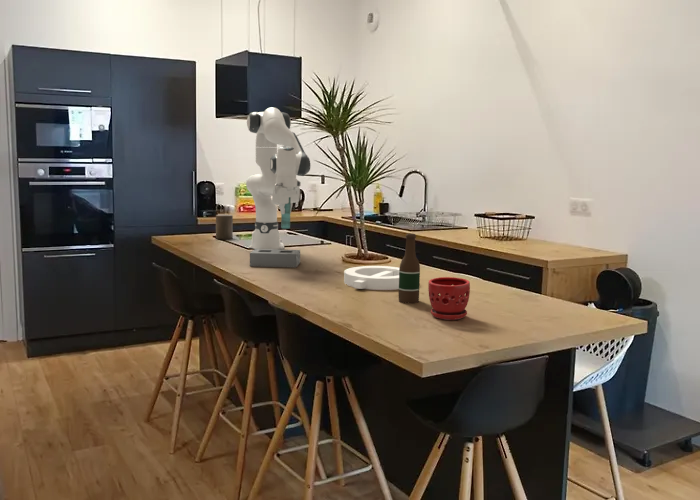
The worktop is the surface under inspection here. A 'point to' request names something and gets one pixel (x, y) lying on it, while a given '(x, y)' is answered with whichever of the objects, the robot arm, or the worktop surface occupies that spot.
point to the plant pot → (449, 297)
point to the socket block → (274, 258)
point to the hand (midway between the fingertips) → (285, 213)
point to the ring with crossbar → (372, 277)
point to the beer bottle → (409, 273)
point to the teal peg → (286, 216)
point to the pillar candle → (224, 226)
